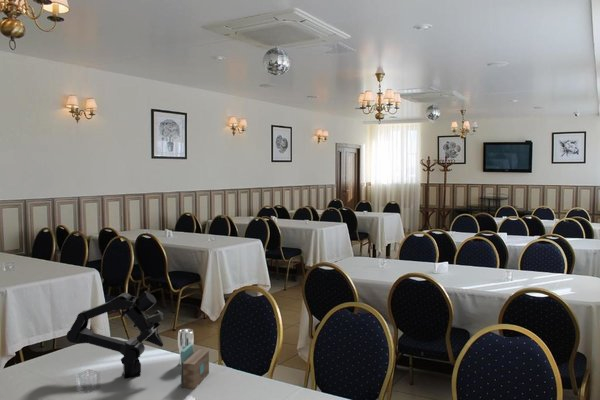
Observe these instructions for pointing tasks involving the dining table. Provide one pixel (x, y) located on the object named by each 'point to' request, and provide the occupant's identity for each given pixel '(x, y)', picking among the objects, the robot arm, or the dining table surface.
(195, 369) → the block
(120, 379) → the dining table surface
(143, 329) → the robot arm
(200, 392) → the dining table surface
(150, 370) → the dining table surface
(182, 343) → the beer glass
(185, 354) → the teal fan slab
